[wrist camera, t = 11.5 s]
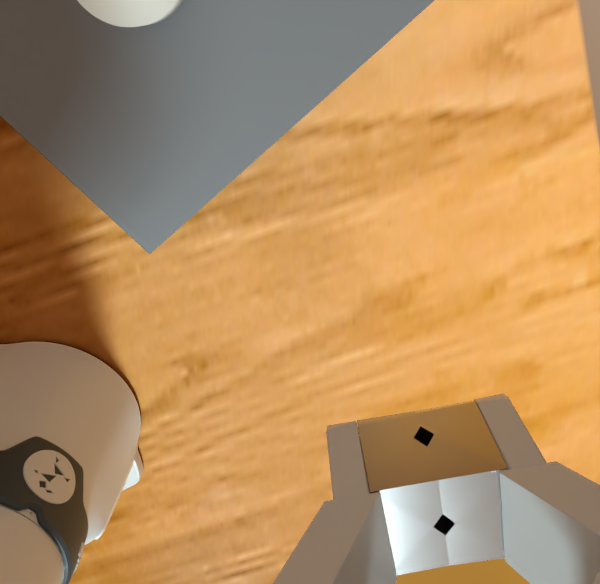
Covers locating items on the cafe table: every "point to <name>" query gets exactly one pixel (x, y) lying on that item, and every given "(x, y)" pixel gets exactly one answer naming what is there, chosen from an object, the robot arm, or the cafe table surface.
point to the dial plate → (176, 92)
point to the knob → (131, 11)
